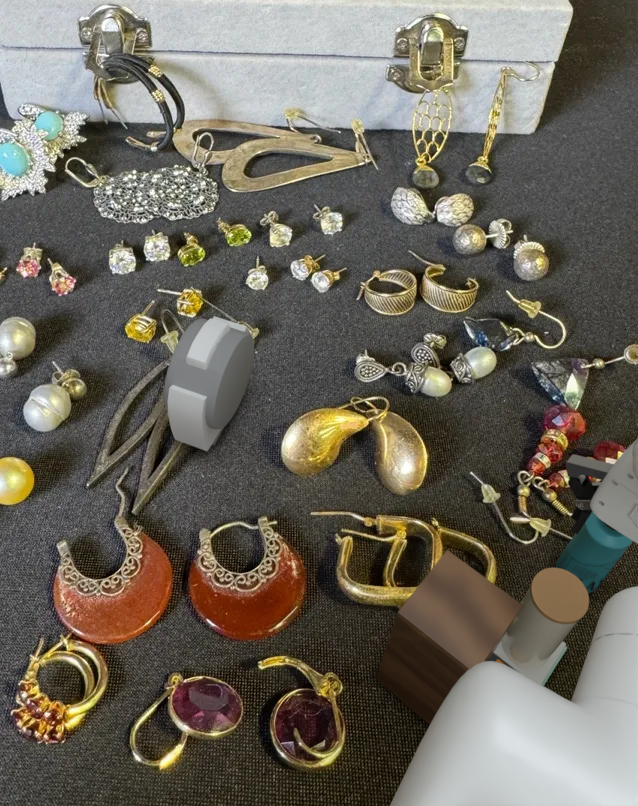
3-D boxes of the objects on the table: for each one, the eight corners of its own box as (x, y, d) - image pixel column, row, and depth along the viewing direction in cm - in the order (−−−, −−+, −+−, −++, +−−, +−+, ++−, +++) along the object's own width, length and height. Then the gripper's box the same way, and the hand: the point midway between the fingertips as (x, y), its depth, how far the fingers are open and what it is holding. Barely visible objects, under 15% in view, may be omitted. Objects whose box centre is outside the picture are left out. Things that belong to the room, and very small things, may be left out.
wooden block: (439, 733, 101) (475, 674, 85) (375, 678, 106) (397, 612, 89) (481, 672, 106) (523, 605, 90) (418, 622, 111) (447, 549, 94)
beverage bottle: (548, 592, 114) (593, 524, 99) (552, 551, 118) (596, 479, 103) (596, 606, 112) (649, 540, 97) (598, 564, 117) (650, 494, 102)
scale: (530, 704, 104) (536, 697, 102) (472, 658, 108) (476, 650, 105) (563, 652, 108) (569, 644, 106) (505, 610, 112) (510, 601, 110)
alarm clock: (213, 368, 140) (208, 287, 125) (258, 384, 138) (258, 303, 123) (165, 449, 129) (153, 371, 114) (213, 467, 127) (208, 389, 112)
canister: (536, 681, 103) (573, 633, 91) (490, 646, 106) (521, 596, 94) (560, 641, 106) (599, 591, 94) (515, 609, 109) (548, 556, 97)
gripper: (579, 428, 69) (528, 526, 82) (789, 552, 62) (696, 638, 74) (617, 377, 73) (562, 478, 86) (818, 487, 66) (725, 580, 78)
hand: (624, 552), depth 80 cm, fingers open, 9 cm apart
